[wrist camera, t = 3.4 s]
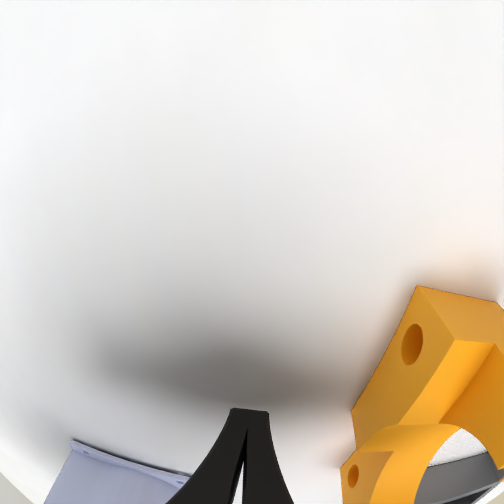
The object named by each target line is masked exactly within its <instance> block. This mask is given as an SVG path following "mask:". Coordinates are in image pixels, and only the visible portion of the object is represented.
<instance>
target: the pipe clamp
mask: <svg viewBox="0 0 504 504" xmlns="http://www.w3.org/2000/svg"><path fill="white" fill-rule="evenodd" d="M351 415H352V421H353V427H354V433H355V439H356V446H357V449H356V451H355V452H354V453H353V454H352V455H351V456H350V458H349V459H348V460H347V461H346V462H345V463H344V464H343V466H342V467H341V468H340V473H341V485H342V499H343V504H414V500H415V496H416V493H417V490H418V487H419V484H420V481H421V479H422V477H423V474H424V472H425V470H426V468H427V466H428V464H429V463H430V461H431V459H432V458H433V456H434V455H435V453H436V452H437V451H438V449H439V448H440V447H441V446H442V444H443V443H444V442H445V441H446V440H447V439H448V438H449V437H450V436H452V435H453V434H454V433H455V432H456V431H458V430H459V429H461V428H462V429H465V430H466V431H468V432H469V433H471V434H472V435H474V436H475V437H476V438H477V439H478V440H479V441H480V442H481V443H482V444H483V445H484V446H485V448H486V449H487V450H488V452H489V453H490V455H491V457H492V458H493V460H494V462H495V465H496V467H497V469H498V470H499V469H502V468H504V310H503V309H502V307H501V306H500V305H499V304H498V303H496V302H492V301H487V300H482V299H478V298H473V297H468V296H464V295H459V294H454V293H450V292H445V291H440V290H435V289H431V288H426V287H421V286H416V288H415V291H414V293H413V295H412V298H411V300H410V302H409V305H408V307H407V309H406V311H405V313H404V316H403V318H402V320H401V322H400V324H399V326H398V328H397V330H396V332H395V334H394V336H393V338H392V340H391V342H390V344H389V346H388V348H387V350H386V352H385V354H384V356H383V358H382V359H381V361H380V363H379V365H378V367H377V369H376V370H375V372H374V374H373V376H372V377H371V379H370V381H369V383H368V384H367V386H366V388H365V389H364V391H363V393H362V394H361V396H360V398H359V399H358V401H357V402H356V404H355V406H354V407H353V409H352V410H351Z"/></svg>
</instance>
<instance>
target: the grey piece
mask: <svg viewBox="0 0 504 504" xmlns="http://www.w3.org/2000/svg"><path fill="white" fill-rule="evenodd" d="M503 481H504V468H502V469H499V470H498V469H497V467H496V465H495V462H494V460H493V458H492V457H491V455H490V453H489V452H487V453H484V454H480V455H477V456H474V457H470V458H466V459H463V460H459V461H455V462H451V463H446V464H442V465H437V466H433V467H428V468H426V470H425V472H424V474H423V477H422V479H421V481H420V484H419V487H418V490H417V493H416V496H415V500H414V504H475V503H476V502H477V501H479V500H480V499H481V498H482V497H484V496H485V495H486V494H487V493H489V492H490V491H491V490H492V489H493V488H495V487H496V486H497V485H498V484H499V483H500V482H503Z"/></svg>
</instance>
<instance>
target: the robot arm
mask: <svg viewBox="0 0 504 504" xmlns="http://www.w3.org/2000/svg"><path fill="white" fill-rule="evenodd" d="M69 445H70V447H71V448H72V451H71V453H70V455H69V457H68V459H67V460H66V462H65V464H64V466H63V468H62V470H61V471H60V473H59V475H58V477H57V479H56V481H55V483H54V484H53V486H52V488H51V490H50V492H49V494H48V496H47V498H46V500H45V502H44V504H232V503H233V500H234V496H235V492H236V488H237V485H238V481H239V477H240V473H241V469H242V465H243V461H244V466H243V492H242V504H294V502H293V500H292V498H291V496H290V494H289V491H288V489H287V487H286V484H285V482H284V479H283V476H282V473H281V470H280V467H279V464H278V461H277V457H276V454H275V450H274V446H273V442H272V436H271V431H270V422H269V413H268V412H267V411H257V410H248V409H240V408H232V409H231V410H230V413H229V416H228V418H227V421H226V423H225V425H224V427H223V429H222V431H221V433H220V435H219V437H218V439H217V440H216V442H215V443H214V445H213V447H212V448H211V450H210V452H209V453H208V455H207V456H206V458H205V459H204V460H203V462H202V463H201V464H200V466H199V467H198V469H197V470H196V471H195V472H194V474H193V475H192V476H191V477H187V476H182V475H178V474H173V473H169V472H165V471H161V470H158V469H154V468H150V467H147V466H143V465H140V464H136V463H133V462H130V461H127V460H124V459H121V458H118V457H115V456H112V455H109V454H107V453H104V452H101V451H98V450H96V449H93V448H91V447H88V446H86V445H83V444H81V443H79V442H76V441H74V440H71V442H70V444H69Z"/></svg>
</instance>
